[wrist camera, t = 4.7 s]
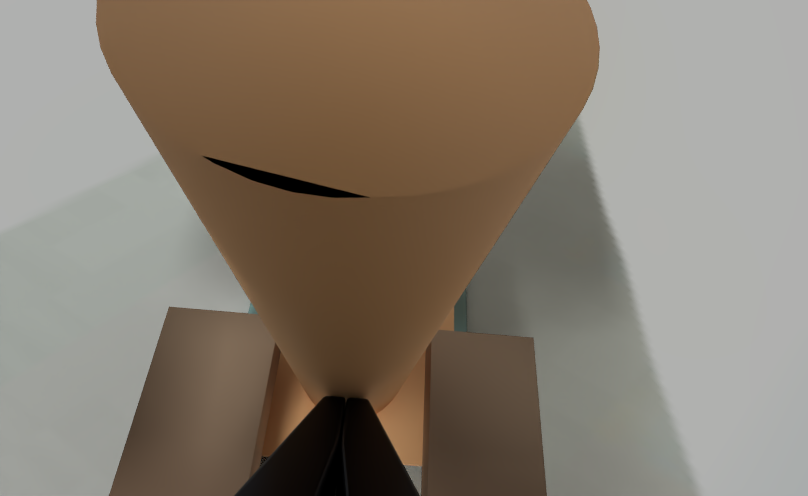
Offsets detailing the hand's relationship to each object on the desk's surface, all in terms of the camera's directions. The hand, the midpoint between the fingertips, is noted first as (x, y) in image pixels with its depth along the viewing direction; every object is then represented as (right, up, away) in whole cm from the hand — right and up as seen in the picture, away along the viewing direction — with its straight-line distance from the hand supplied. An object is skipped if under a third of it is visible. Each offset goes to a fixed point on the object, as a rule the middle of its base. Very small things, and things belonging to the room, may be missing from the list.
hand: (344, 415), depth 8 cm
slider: (-1, -2, +9) cm, 9 cm away
